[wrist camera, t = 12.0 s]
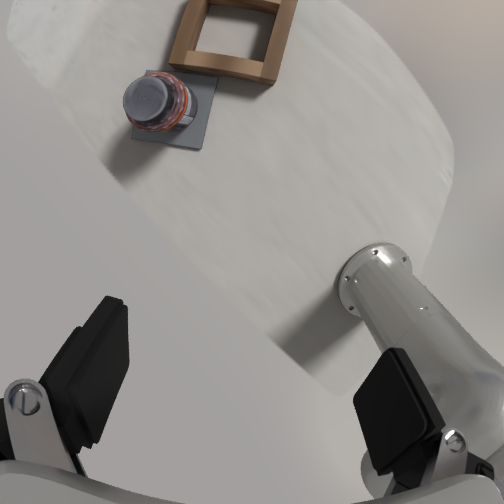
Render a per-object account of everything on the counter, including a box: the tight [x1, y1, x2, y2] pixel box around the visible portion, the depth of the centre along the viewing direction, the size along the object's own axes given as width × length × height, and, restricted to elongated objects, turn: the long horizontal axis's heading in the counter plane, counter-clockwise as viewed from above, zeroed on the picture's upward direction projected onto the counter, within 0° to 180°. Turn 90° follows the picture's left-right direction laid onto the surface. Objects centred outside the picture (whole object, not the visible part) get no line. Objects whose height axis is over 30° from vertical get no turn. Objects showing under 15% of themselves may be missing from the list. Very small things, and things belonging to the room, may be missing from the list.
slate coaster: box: [132, 70, 218, 149], centre depth 29 cm, size 9×9×1 cm
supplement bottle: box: [123, 72, 198, 132], centre depth 24 cm, size 6×6×11 cm
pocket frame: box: [168, 0, 298, 86], centre depth 24 cm, size 12×12×4 cm
